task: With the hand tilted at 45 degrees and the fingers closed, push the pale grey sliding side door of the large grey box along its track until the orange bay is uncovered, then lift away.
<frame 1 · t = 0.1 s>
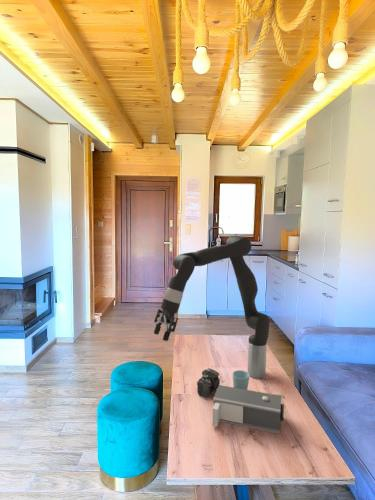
hand: (160, 337, 133), 31 cm above the table, tool tilted 20°, fingers open, 8 cm apart
camera: (208, 390, 150), on the table
side door: (227, 415, 124), point 5 cm above the table, slide at 0.0 cm
cup: (240, 396, 146), on the table
grey box: (247, 417, 130), on the table
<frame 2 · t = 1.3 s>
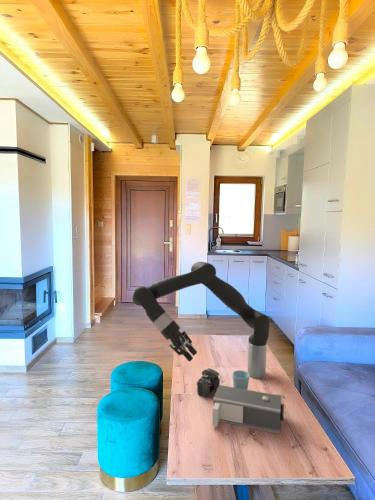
hand: (193, 356, 131), 24 cm above the table, tool tilted 45°, fingers open, 5 cm apart
nothing on the table moved.
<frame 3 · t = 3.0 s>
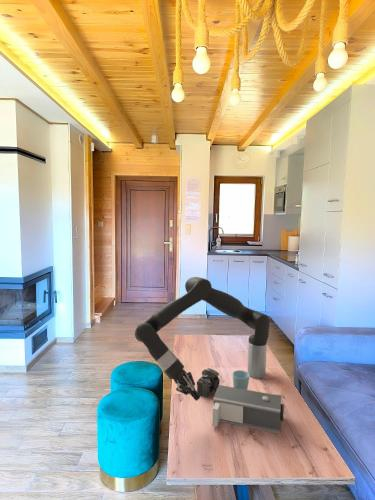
hand: (198, 398, 125), 10 cm above the table, tool tilted 45°, fingers closed
nothing on the table moved.
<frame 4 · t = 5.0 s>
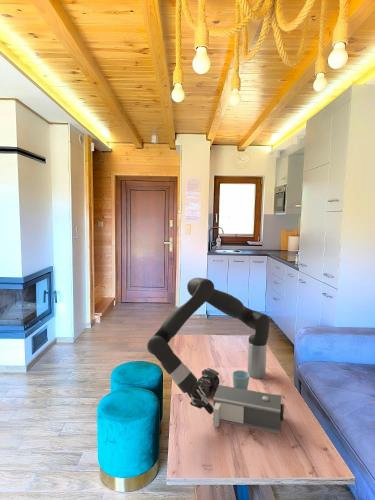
hand: (212, 412, 124), 6 cm above the table, tool tilted 45°, fingers closed
side door: (228, 415, 124), point 5 cm above the table, slide at 0.2 cm, touching gripper
everything else where it was.
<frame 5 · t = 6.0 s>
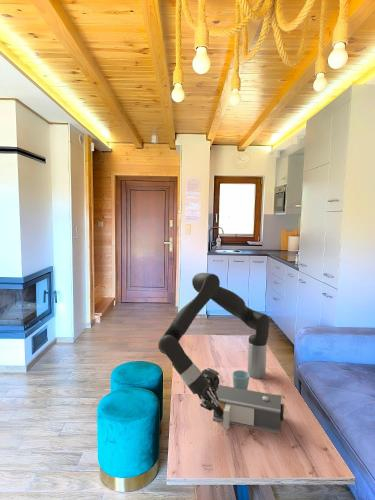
hand: (222, 414, 122), 6 cm above the table, tool tilted 45°, fingers closed
side door: (238, 417, 123), point 5 cm above the table, slide at 4.3 cm, touching gripper
everything else where it was.
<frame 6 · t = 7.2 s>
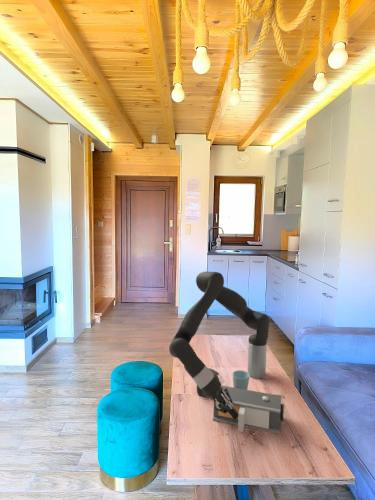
hand: (237, 417, 121), 6 cm above the table, tool tilted 45°, fingers closed
side door: (253, 420, 121), point 5 cm above the table, slide at 10.0 cm, touching gripper
everything else where it was.
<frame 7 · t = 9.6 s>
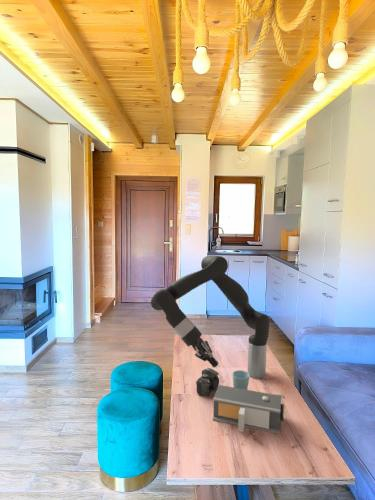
hand: (216, 365, 124), 24 cm above the table, tool tilted 45°, fingers closed
side door: (253, 420, 121), point 5 cm above the table, slide at 10.0 cm
everything else where it was.
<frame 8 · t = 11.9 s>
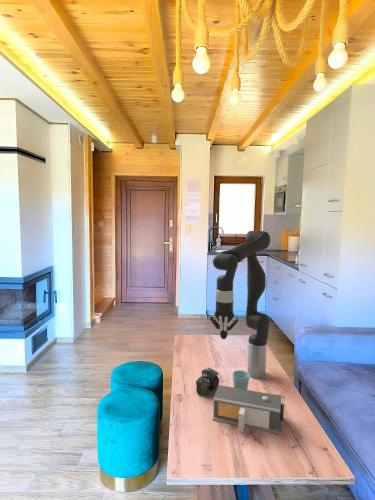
hand: (223, 338, 138), 29 cm above the table, tool pointing down, fingers closed
nothing on the table moved.
at the end: side door slide at 10.0 cm; cup moved 0.2 cm from its start; camera moved 0.8 cm from its start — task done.
